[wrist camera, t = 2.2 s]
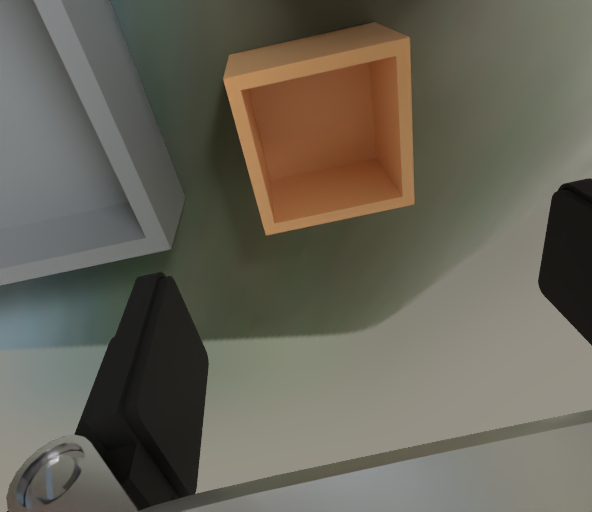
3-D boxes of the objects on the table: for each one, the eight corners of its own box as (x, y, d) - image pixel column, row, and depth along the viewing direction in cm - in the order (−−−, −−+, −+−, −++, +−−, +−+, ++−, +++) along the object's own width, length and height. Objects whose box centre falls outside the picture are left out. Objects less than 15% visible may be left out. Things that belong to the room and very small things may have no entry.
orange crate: (374, 21, 19) (409, 37, 14) (384, 160, 22) (414, 204, 18) (229, 54, 19) (222, 78, 15) (263, 186, 22) (265, 235, 18)
